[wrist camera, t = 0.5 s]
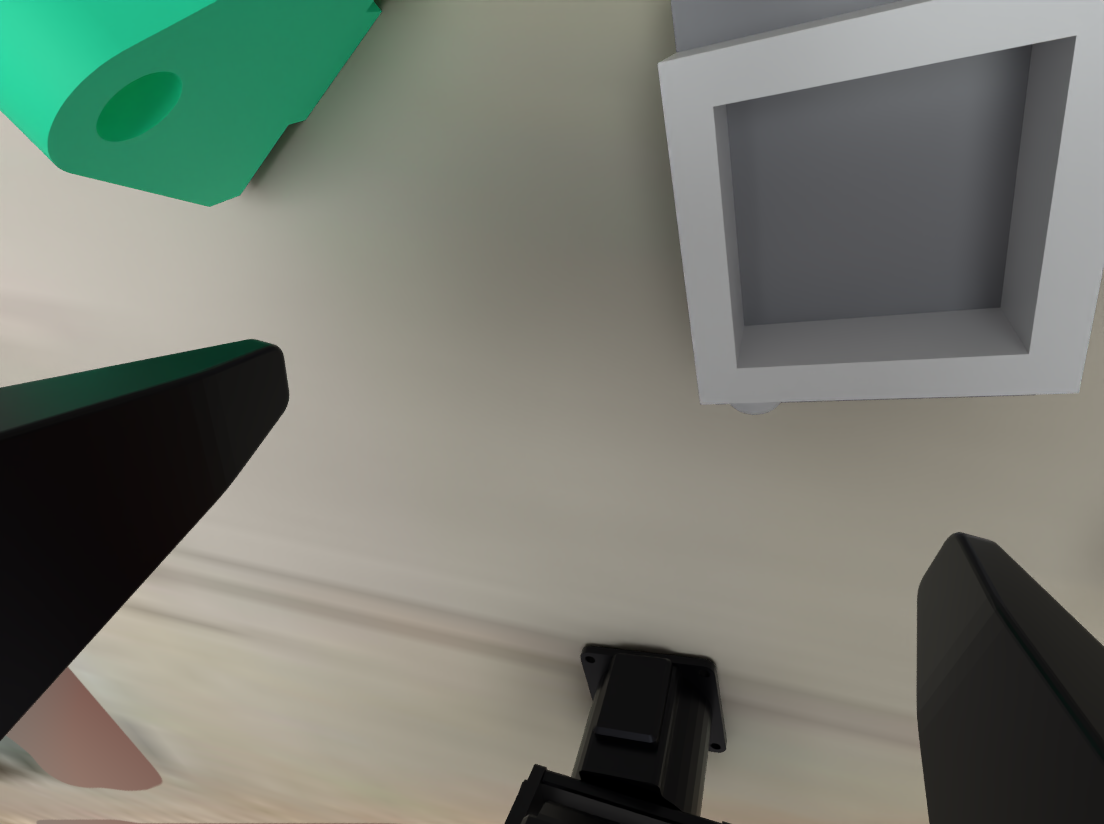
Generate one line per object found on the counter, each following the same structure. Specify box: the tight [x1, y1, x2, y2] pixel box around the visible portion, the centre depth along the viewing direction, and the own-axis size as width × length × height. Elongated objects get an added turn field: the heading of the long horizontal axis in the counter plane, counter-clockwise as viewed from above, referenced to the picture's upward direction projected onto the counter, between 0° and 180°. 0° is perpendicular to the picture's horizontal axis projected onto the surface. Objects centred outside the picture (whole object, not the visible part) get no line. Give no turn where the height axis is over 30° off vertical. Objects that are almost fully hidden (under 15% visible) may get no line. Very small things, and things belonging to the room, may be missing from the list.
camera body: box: [658, 0, 1104, 415], centre depth 16 cm, size 11×8×6 cm
